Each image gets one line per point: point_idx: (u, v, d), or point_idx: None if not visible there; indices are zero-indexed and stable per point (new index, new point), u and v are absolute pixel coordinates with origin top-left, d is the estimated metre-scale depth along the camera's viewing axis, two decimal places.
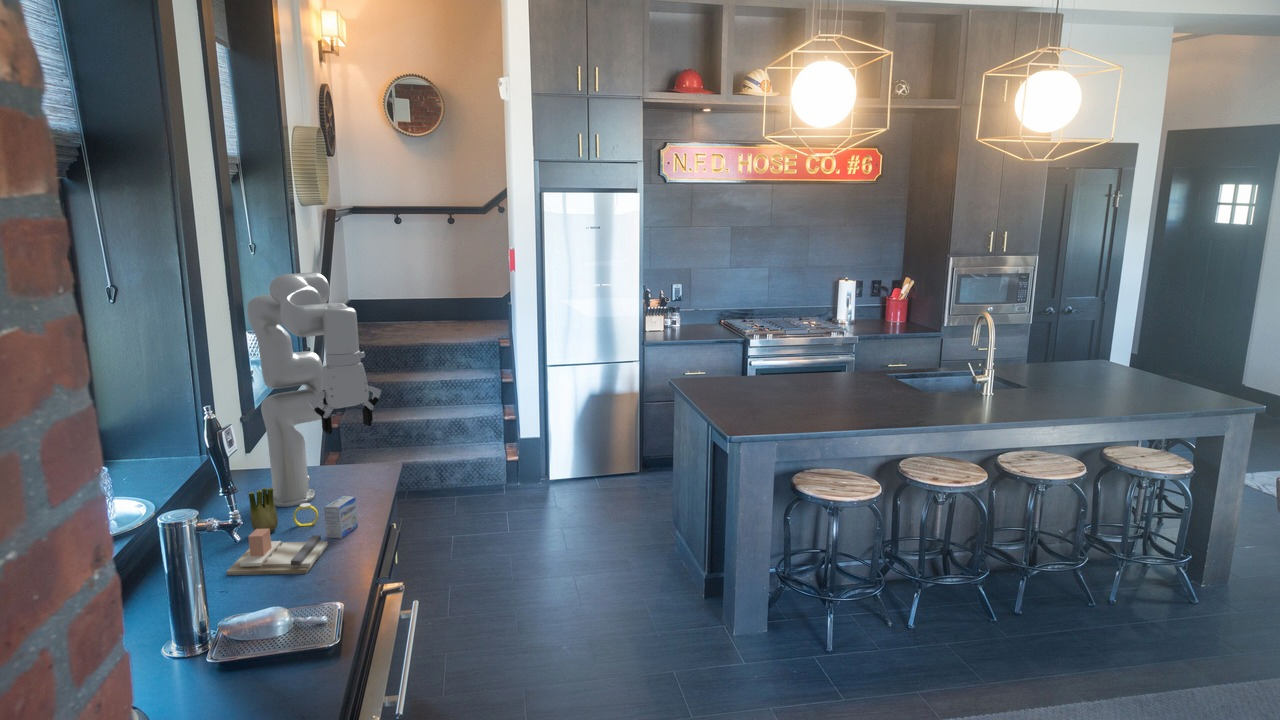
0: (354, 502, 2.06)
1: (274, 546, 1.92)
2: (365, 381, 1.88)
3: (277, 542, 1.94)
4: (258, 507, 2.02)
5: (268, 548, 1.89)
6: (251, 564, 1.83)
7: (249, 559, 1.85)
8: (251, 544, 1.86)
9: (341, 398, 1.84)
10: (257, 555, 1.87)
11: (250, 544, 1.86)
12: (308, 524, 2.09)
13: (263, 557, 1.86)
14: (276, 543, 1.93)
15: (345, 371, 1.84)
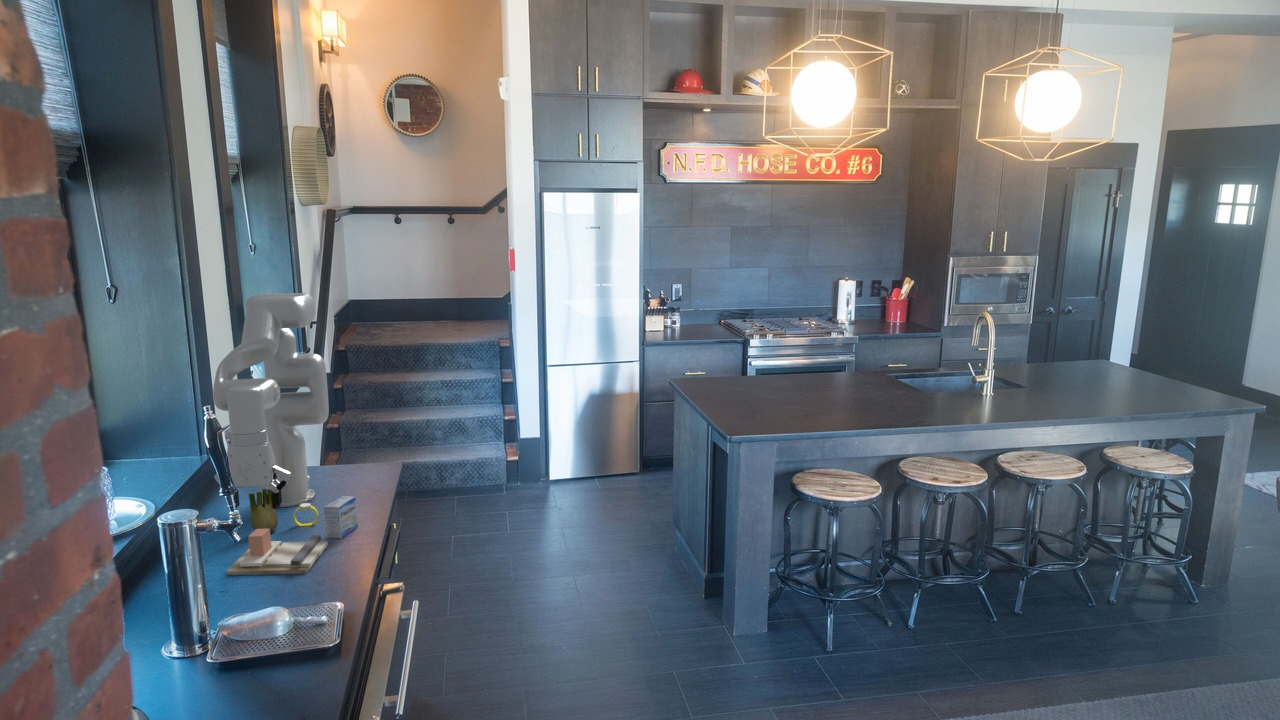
0: (354, 502, 2.06)
1: (274, 546, 1.92)
2: None
3: (277, 542, 1.94)
4: (258, 507, 2.02)
5: (268, 548, 1.89)
6: (251, 564, 1.83)
7: (249, 559, 1.85)
8: (251, 544, 1.86)
9: None
10: (257, 555, 1.87)
11: (250, 544, 1.86)
12: (308, 524, 2.09)
13: (263, 557, 1.86)
14: (276, 543, 1.93)
15: None
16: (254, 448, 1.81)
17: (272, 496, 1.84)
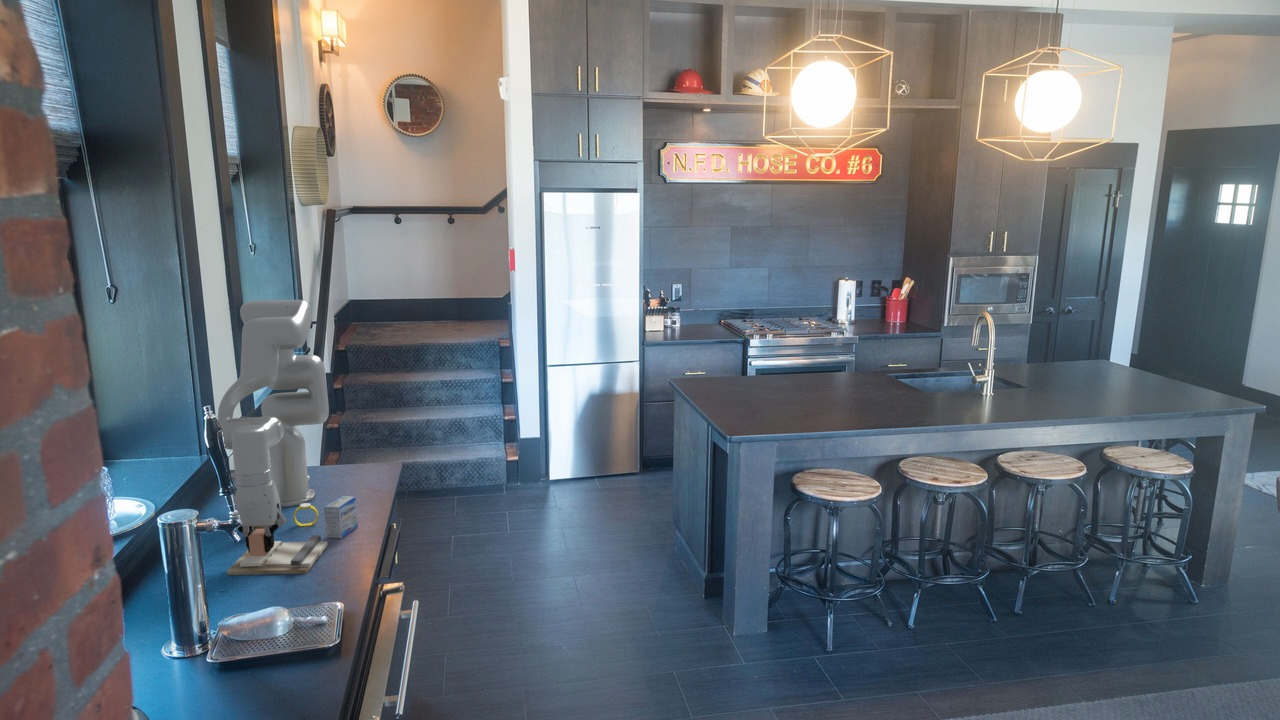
0: (354, 502, 2.06)
1: (274, 546, 1.92)
2: None
3: (277, 542, 1.94)
4: None
5: None
6: (251, 564, 1.83)
7: (249, 559, 1.85)
8: (251, 544, 1.86)
9: None
10: (257, 555, 1.87)
11: (250, 544, 1.86)
12: (308, 524, 2.09)
13: (263, 557, 1.86)
14: (276, 543, 1.93)
15: None
16: (258, 488, 1.83)
17: (264, 539, 1.87)
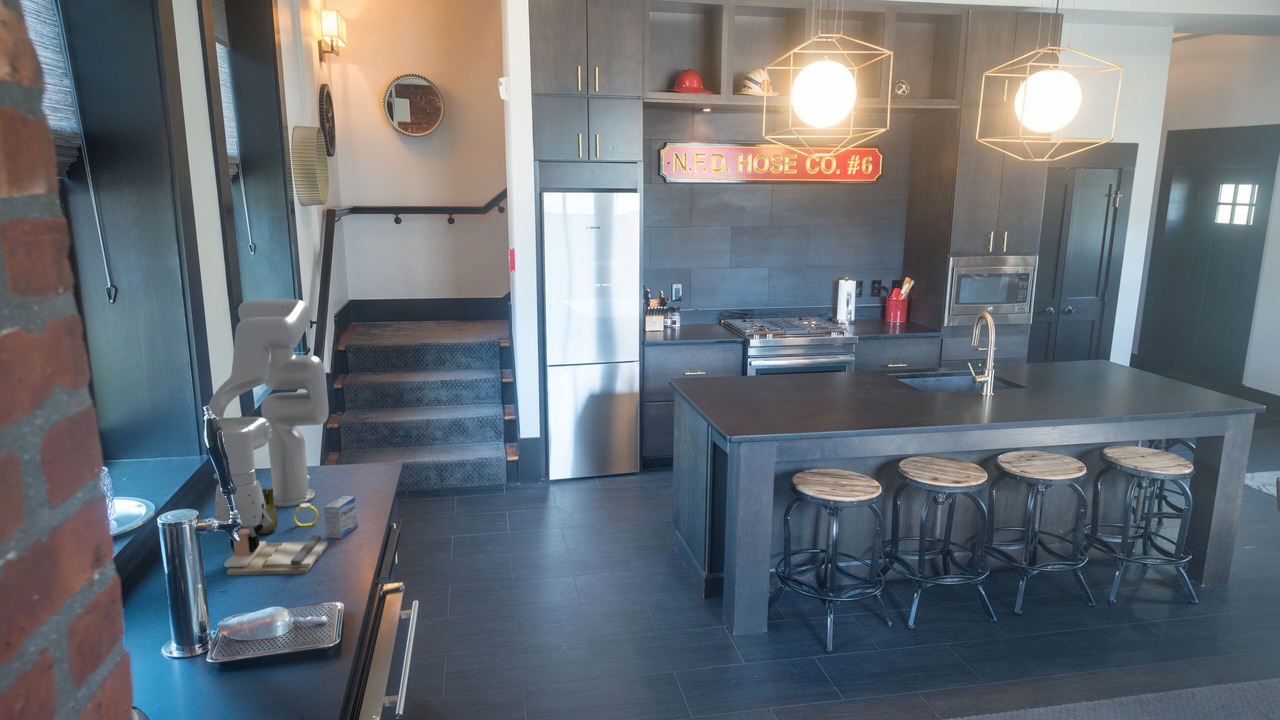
0: (354, 502, 2.06)
1: (259, 546, 1.92)
2: None
3: (262, 542, 1.94)
4: None
5: None
6: (235, 564, 1.83)
7: (234, 559, 1.85)
8: (236, 544, 1.86)
9: None
10: (242, 555, 1.86)
11: (235, 544, 1.86)
12: (308, 524, 2.09)
13: (248, 557, 1.86)
14: (261, 543, 1.93)
15: None
16: (243, 488, 1.83)
17: (249, 540, 1.87)
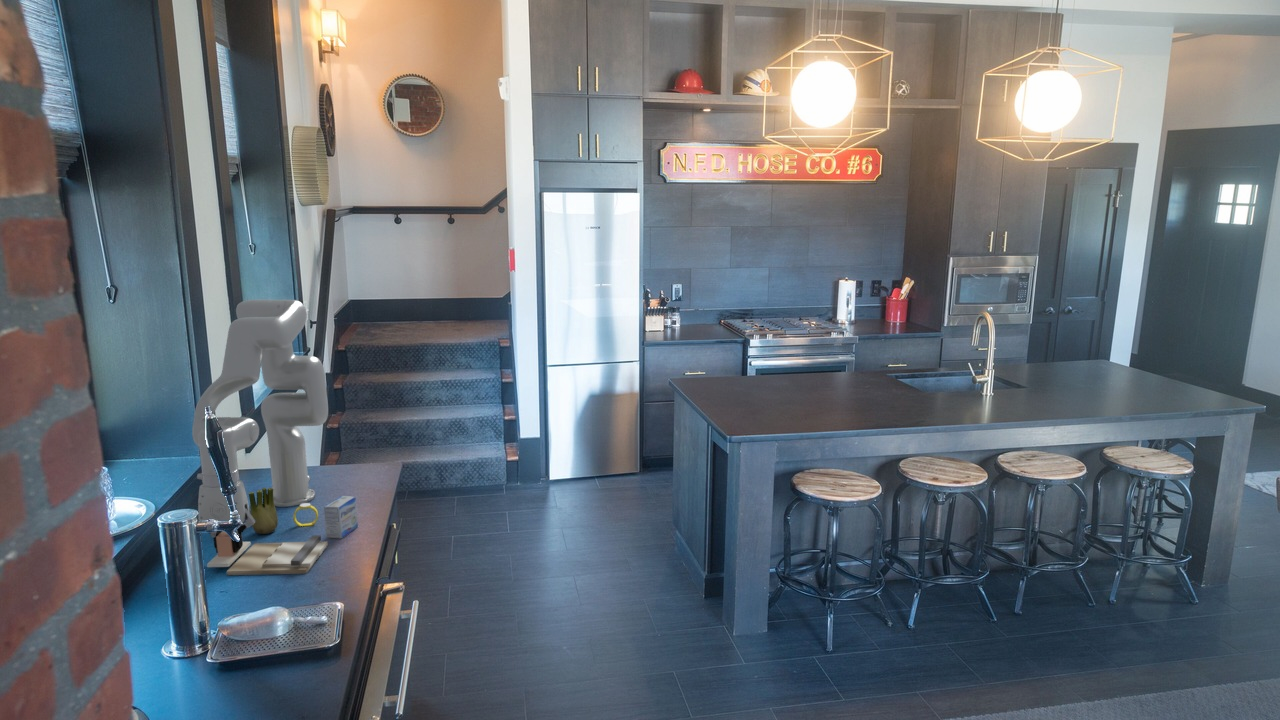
0: (354, 502, 2.06)
1: (243, 547, 1.91)
2: None
3: (246, 543, 1.94)
4: (258, 507, 2.02)
5: None
6: (218, 565, 1.83)
7: (217, 559, 1.85)
8: (219, 545, 1.86)
9: None
10: (225, 556, 1.86)
11: (218, 545, 1.86)
12: (308, 524, 2.09)
13: (231, 558, 1.86)
14: (245, 544, 1.93)
15: None
16: None
17: (232, 540, 1.86)
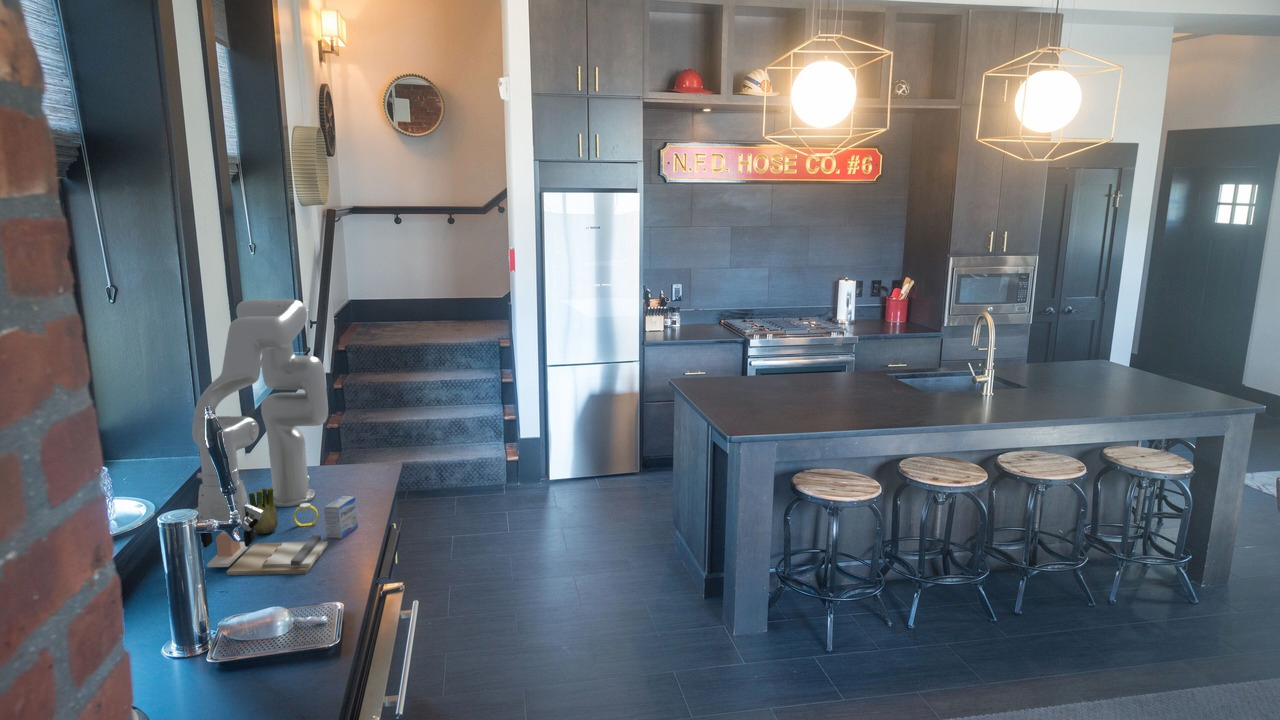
0: (354, 502, 2.06)
1: (243, 547, 1.91)
2: None
3: None
4: (258, 507, 2.02)
5: (236, 549, 1.89)
6: (218, 565, 1.83)
7: (217, 559, 1.85)
8: (219, 545, 1.86)
9: None
10: (225, 556, 1.86)
11: (218, 545, 1.86)
12: (308, 524, 2.09)
13: (231, 558, 1.86)
14: None
15: None
16: None
17: (244, 534, 1.86)
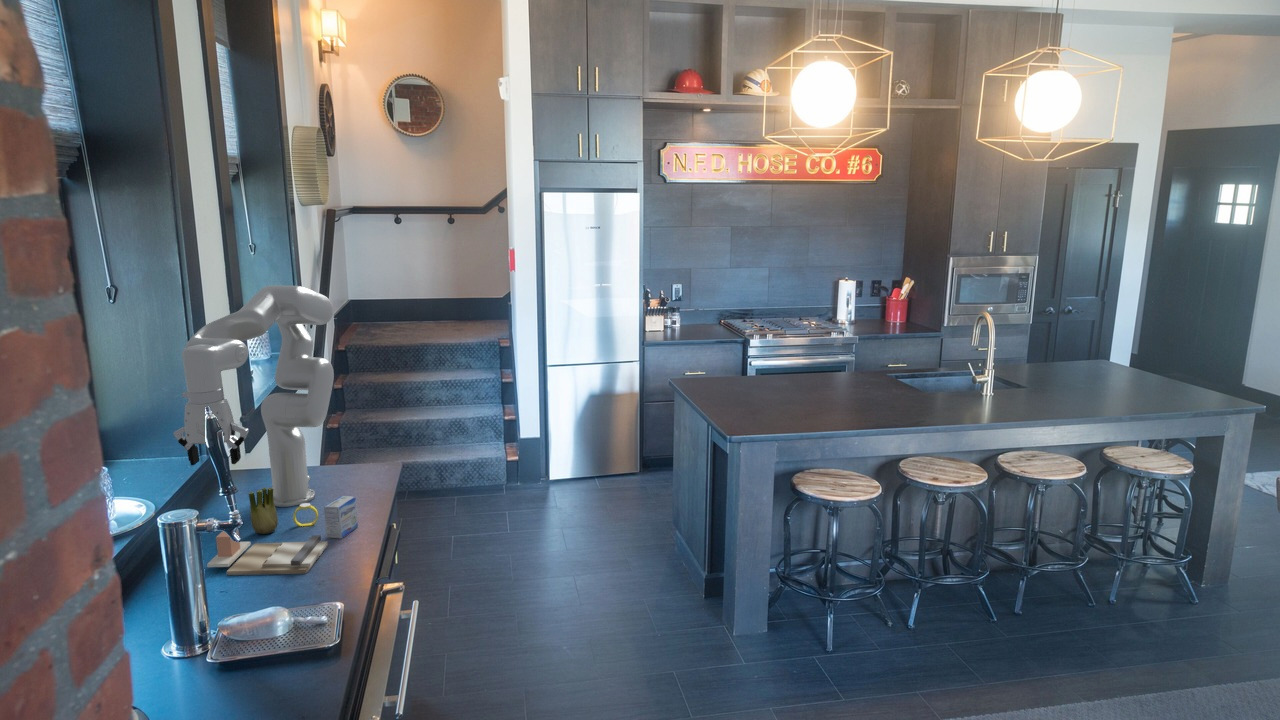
0: (354, 502, 2.06)
1: (243, 547, 1.91)
2: None
3: (246, 543, 1.94)
4: (258, 507, 2.02)
5: (236, 549, 1.89)
6: (218, 565, 1.83)
7: (217, 559, 1.85)
8: (219, 545, 1.86)
9: None
10: (225, 556, 1.86)
11: (218, 545, 1.86)
12: (308, 524, 2.09)
13: (231, 558, 1.86)
14: (245, 544, 1.93)
15: None
16: (211, 406, 1.87)
17: (230, 452, 1.91)
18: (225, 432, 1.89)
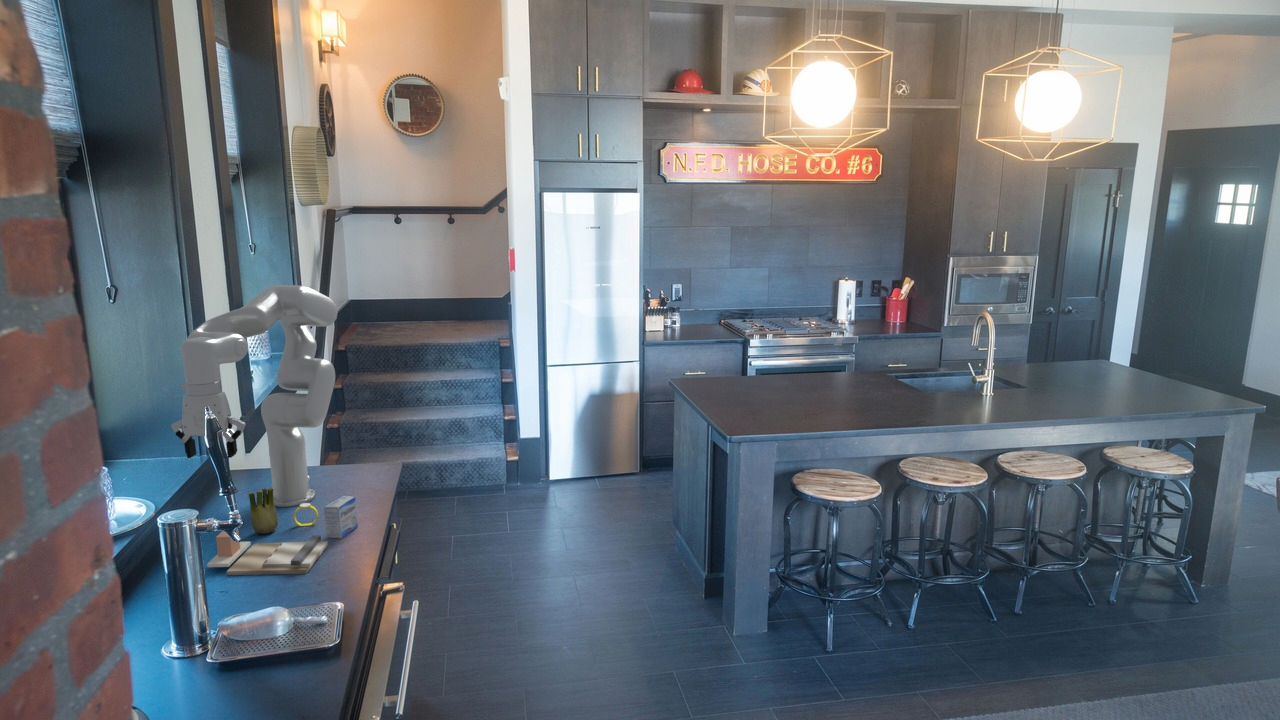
0: (354, 502, 2.06)
1: (243, 547, 1.91)
2: None
3: (246, 543, 1.94)
4: (258, 507, 2.02)
5: (236, 549, 1.89)
6: (218, 565, 1.83)
7: (217, 559, 1.85)
8: (219, 545, 1.86)
9: None
10: (225, 556, 1.86)
11: (218, 545, 1.86)
12: (308, 524, 2.09)
13: (231, 558, 1.86)
14: (245, 544, 1.93)
15: None
16: (209, 398, 1.88)
17: (226, 445, 1.91)
18: (222, 425, 1.89)
